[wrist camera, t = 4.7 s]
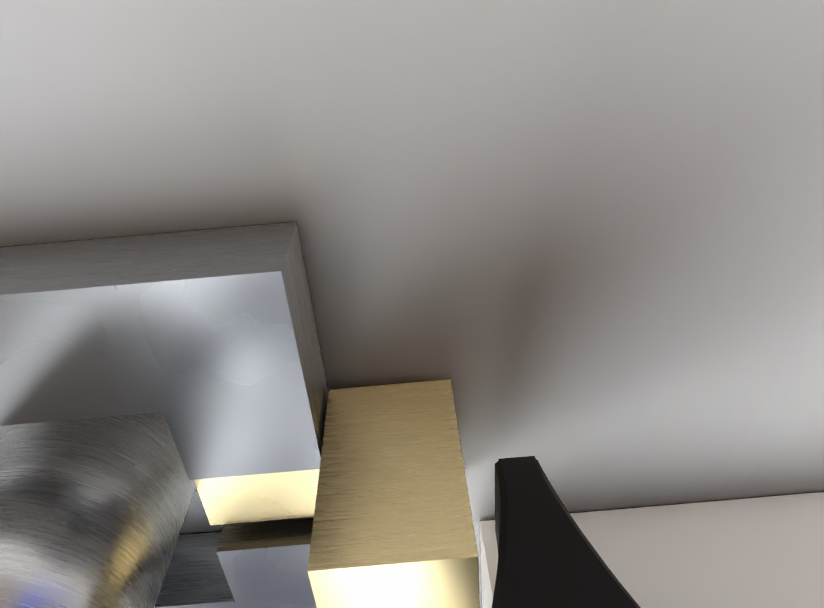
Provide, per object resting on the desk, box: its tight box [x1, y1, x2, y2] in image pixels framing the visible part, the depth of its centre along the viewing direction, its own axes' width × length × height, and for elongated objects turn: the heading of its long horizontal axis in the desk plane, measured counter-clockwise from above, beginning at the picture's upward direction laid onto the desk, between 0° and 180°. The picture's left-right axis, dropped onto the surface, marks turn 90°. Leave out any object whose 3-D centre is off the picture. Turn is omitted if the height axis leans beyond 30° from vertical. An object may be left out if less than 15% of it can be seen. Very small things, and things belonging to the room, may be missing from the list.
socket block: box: [0, 222, 329, 608], centre depth 12 cm, size 10×10×2 cm
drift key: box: [194, 379, 480, 608], centre depth 11 cm, size 3×5×4 cm, turn 94°
